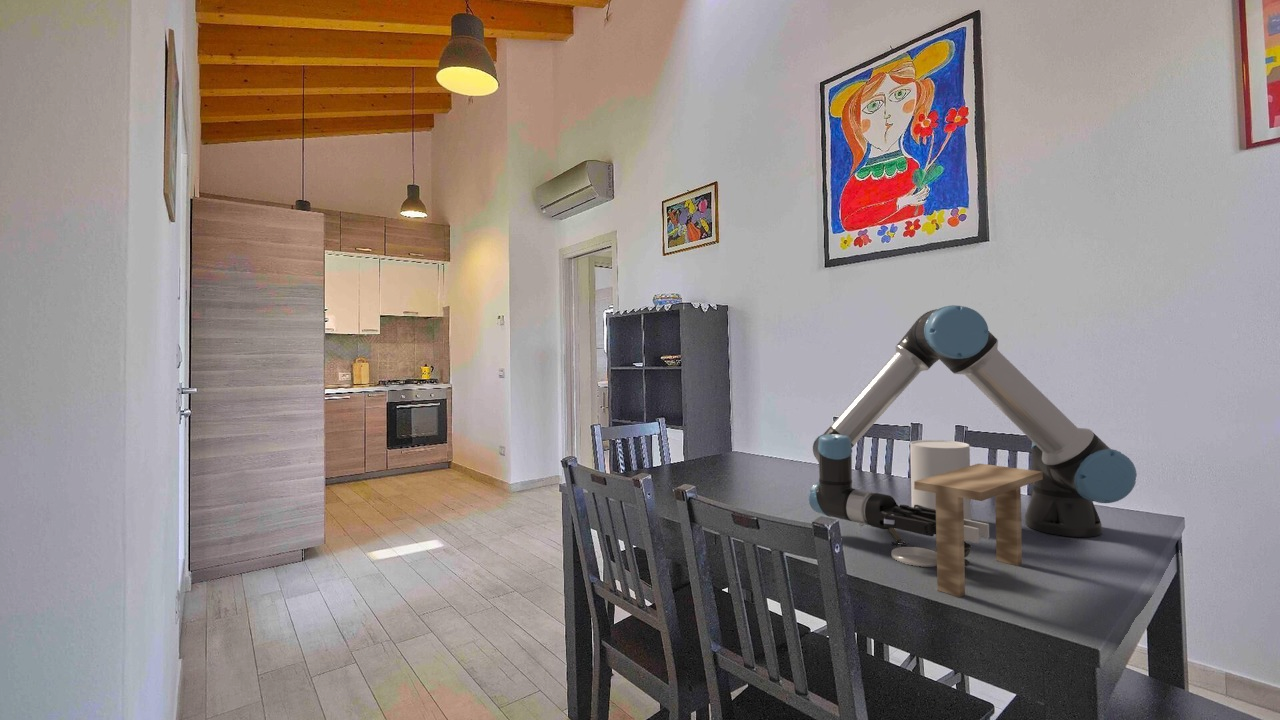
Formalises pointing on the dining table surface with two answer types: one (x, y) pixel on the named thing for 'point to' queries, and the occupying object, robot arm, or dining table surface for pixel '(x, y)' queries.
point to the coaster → (915, 556)
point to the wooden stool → (950, 515)
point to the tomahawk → (896, 537)
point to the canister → (936, 467)
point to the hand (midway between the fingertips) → (982, 533)
